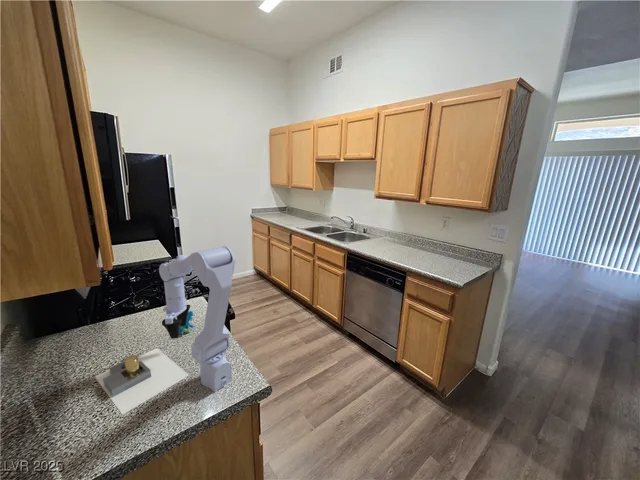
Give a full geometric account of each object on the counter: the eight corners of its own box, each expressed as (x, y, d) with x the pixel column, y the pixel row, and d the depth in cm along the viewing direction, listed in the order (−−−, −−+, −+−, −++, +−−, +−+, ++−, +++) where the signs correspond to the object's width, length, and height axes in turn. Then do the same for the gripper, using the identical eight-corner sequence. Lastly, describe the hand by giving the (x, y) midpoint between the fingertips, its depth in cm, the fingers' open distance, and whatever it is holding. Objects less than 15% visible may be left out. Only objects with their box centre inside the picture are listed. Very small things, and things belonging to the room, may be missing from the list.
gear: (173, 322, 111) (191, 305, 112) (185, 328, 115) (202, 311, 115) (172, 339, 102) (190, 321, 102) (184, 345, 105) (203, 328, 106)
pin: (142, 377, 81) (139, 358, 80) (130, 383, 79) (127, 363, 77) (137, 372, 83) (135, 353, 82) (126, 378, 81) (123, 359, 79)
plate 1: (151, 376, 82) (150, 372, 82) (125, 390, 76) (124, 386, 76) (134, 360, 89) (134, 355, 89) (109, 371, 83) (108, 367, 83)
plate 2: (151, 376, 82) (150, 370, 81) (112, 397, 74) (111, 390, 73) (141, 367, 86) (140, 360, 85) (104, 385, 78) (102, 378, 77)
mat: (189, 377, 83) (189, 375, 83) (122, 417, 69) (122, 414, 69) (157, 350, 96) (157, 348, 95) (95, 379, 81) (94, 376, 81)
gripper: (170, 287, 95) (174, 321, 98) (152, 306, 81) (157, 345, 84) (191, 286, 96) (194, 320, 99) (177, 305, 82) (180, 343, 85)
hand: (178, 331), depth 92 cm, fingers open, 7 cm apart
